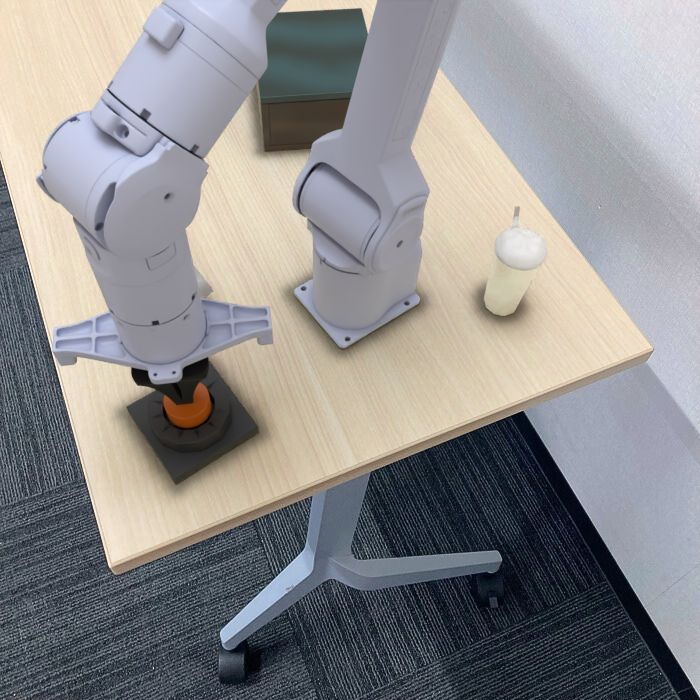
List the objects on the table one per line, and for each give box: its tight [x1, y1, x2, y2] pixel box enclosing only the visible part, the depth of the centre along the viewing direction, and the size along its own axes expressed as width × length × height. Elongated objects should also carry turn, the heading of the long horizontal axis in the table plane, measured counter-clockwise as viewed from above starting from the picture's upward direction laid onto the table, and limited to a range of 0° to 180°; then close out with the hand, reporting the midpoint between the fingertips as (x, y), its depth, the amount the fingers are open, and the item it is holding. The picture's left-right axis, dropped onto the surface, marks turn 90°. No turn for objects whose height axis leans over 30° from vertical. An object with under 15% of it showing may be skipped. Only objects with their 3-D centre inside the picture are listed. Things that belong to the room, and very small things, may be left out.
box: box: [255, 82, 351, 152], centre depth 80 cm, size 13×13×6 cm
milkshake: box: [483, 205, 548, 317], centre depth 65 cm, size 4×5×10 cm
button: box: [163, 382, 212, 428], centre depth 58 cm, size 4×4×2 cm
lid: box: [258, 7, 369, 104], centre depth 77 cm, size 13×13×1 cm
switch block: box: [126, 360, 260, 485], centre depth 59 cm, size 8×8×3 cm
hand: (184, 393), depth 56 cm, fingers closed
